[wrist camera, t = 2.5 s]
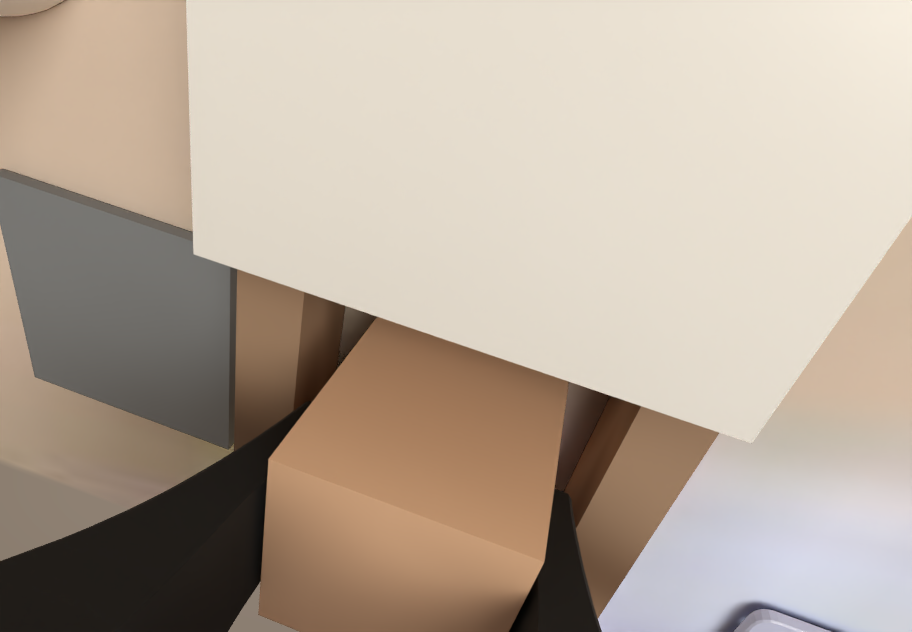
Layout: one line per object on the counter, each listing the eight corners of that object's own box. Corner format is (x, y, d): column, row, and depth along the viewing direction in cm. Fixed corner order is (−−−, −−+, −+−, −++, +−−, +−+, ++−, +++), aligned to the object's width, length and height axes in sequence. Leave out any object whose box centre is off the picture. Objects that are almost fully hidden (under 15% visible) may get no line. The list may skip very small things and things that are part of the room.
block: (520, 476, 16) (473, 702, 11) (371, 422, 16) (258, 615, 11) (572, 349, 13) (544, 562, 8) (397, 290, 14) (268, 459, 9)
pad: (235, 441, 18) (228, 449, 18) (45, 370, 19) (34, 376, 18) (239, 248, 14) (230, 254, 14) (2, 168, 15) (-12, 172, 15)
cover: (729, 366, 10) (751, 443, 8) (260, 214, 11) (193, 254, 9) (1201, -401, 5) (1486, -598, 3) (291, -562, 6) (162, -781, 4)
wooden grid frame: (587, 560, 17) (582, 641, 15) (279, 445, 18) (232, 506, 16) (1069, -274, 7) (1255, -386, 5) (347, -420, 8) (251, -565, 6)
